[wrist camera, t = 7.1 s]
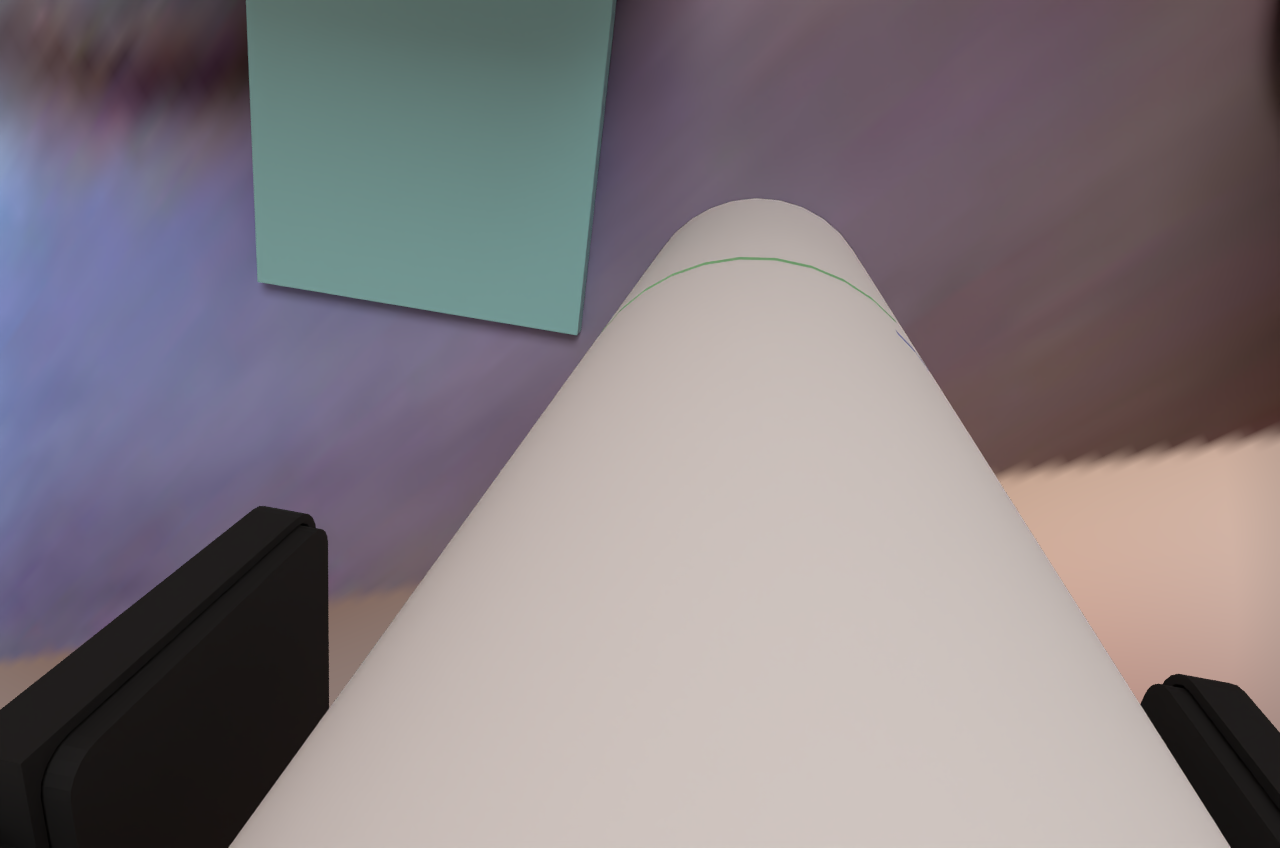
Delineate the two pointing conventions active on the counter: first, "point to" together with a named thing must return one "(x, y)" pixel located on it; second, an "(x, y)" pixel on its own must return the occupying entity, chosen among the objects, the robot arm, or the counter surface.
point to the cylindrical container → (740, 609)
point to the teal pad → (430, 151)
